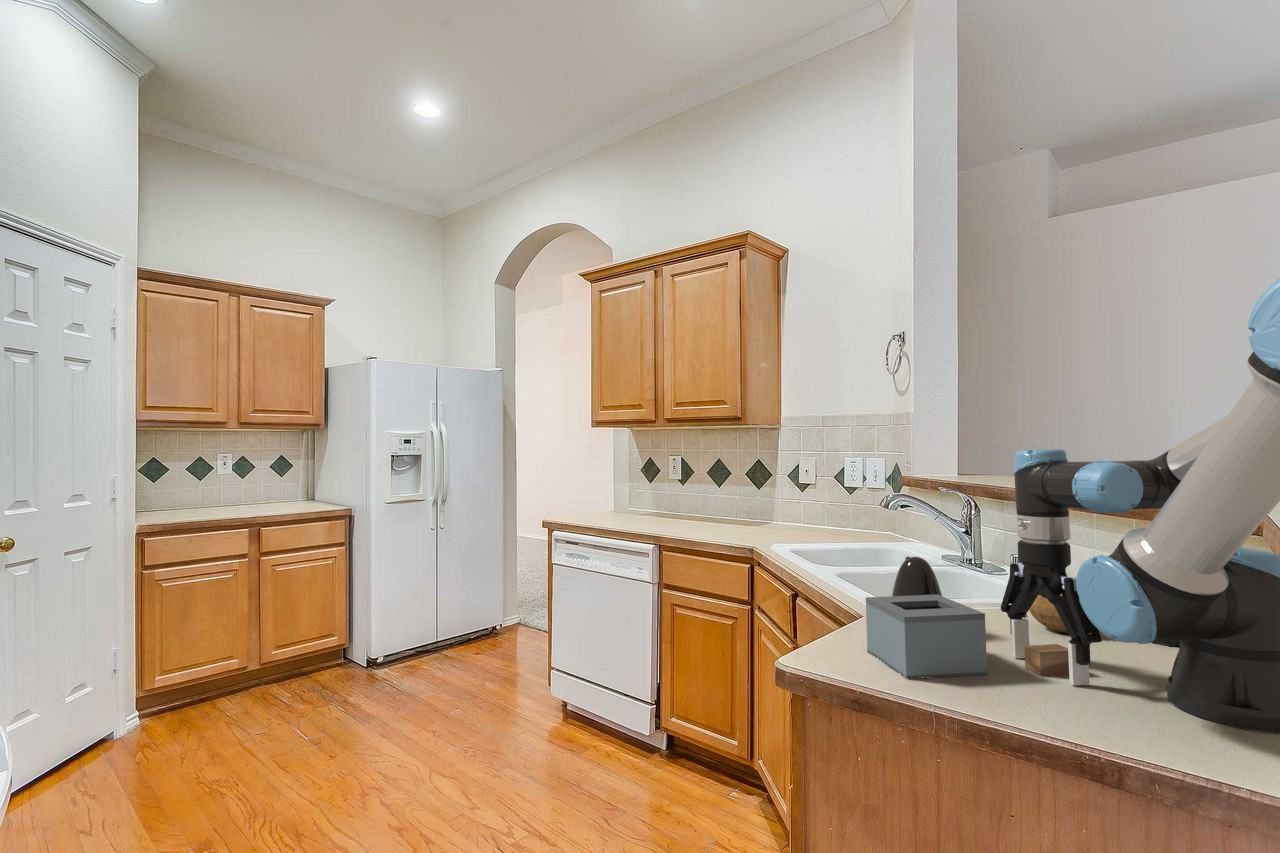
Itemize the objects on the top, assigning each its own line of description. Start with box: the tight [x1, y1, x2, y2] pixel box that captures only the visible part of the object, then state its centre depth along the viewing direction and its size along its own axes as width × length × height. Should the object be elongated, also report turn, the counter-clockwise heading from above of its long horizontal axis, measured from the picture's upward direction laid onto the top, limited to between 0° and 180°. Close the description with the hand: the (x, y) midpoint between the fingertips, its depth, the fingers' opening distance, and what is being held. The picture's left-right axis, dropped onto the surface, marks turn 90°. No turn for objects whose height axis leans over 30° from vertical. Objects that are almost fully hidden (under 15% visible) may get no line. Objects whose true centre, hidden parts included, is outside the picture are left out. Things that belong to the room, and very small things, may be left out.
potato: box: [1028, 594, 1069, 634], centre depth 127 cm, size 10×14×8 cm
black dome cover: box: [891, 556, 943, 597], centre depth 129 cm, size 10×10×15 cm
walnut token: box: [1024, 643, 1069, 677], centre depth 105 cm, size 4×6×4 cm, turn 97°
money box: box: [865, 594, 988, 679], centre depth 111 cm, size 14×14×10 cm
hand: (1048, 669), depth 105 cm, fingers open, 12 cm apart
